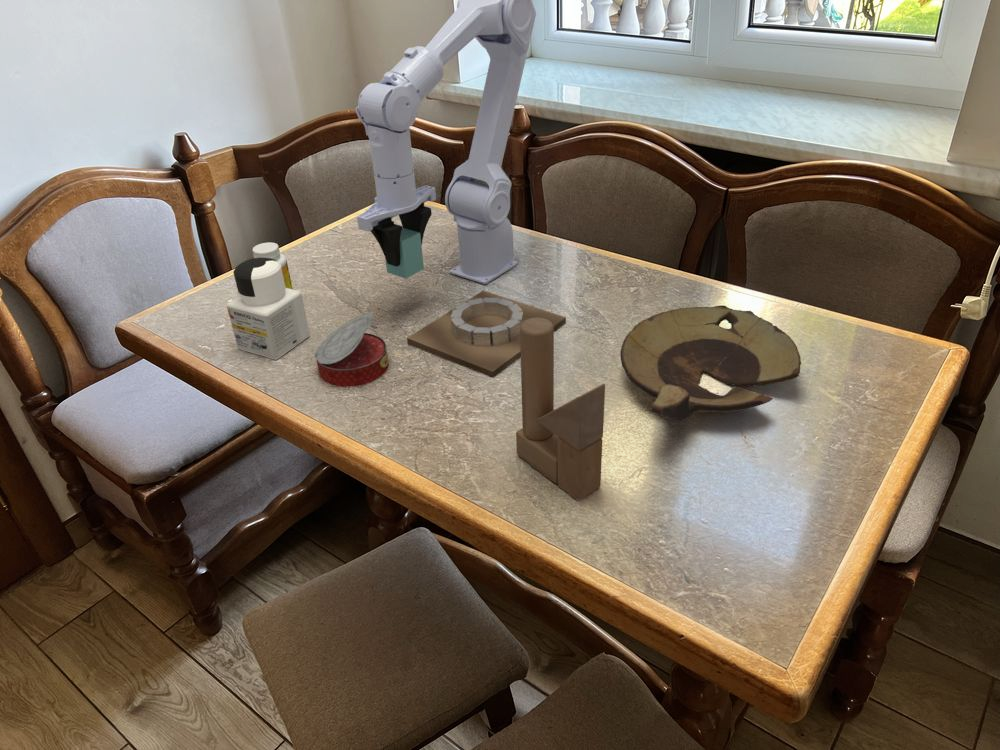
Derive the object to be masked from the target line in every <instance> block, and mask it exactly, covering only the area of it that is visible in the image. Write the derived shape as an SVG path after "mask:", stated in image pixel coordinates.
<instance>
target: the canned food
mask: <svg viewBox="0 0 1000 750" xmlns="http://www.w3.org/2000/svg"><path fill="white" fill-rule="evenodd" d="M373 318H374V313H373V312H371V311H369V312H367V313H362V315H360V316H357V317H355V318H352V319H351V320H349V321H348V322H346V323H344V324H342V325H341V326H339V327H338V328H337V329H336V330H334V331H333V332H331V333H330V334H329V335H328V336H327V338H325V340H323V341H322V342H321V343H320V345H319V346H318V348H317V349H316V351H315V356H314V357H315V360H316V364H317V369H318V375H319V377H320V378H322V379H323V380H324V382H325V383H326V382H327V384H328V383H329V384H328V385H330V384H331V385H330V386H334V385H335V387H339V386H341V387H342V388H351V387H350V386H354V387H359V385H360V386H364V385H367V384H370V383H373V382H374V381H377V380H378V379H380V378H381V377H382V376H383V375H385V374H386V373H387V371H388V369H389V365H390V364H389V363H390V362H389V357H388V355H389V354H388V348H387V343H386V342H385V340H384V339H383V338H381V336H378V335H376V334H373V333H370V332H369V333H368V332H366V331H367V330H368V329H369V327H370V326H371V325H372V323H373V320H374V319H373ZM379 377H380V378H379ZM322 379H321V380H322ZM376 379H377V380H376ZM323 380H322V381H323ZM347 386H348V387H347Z"/></svg>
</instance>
